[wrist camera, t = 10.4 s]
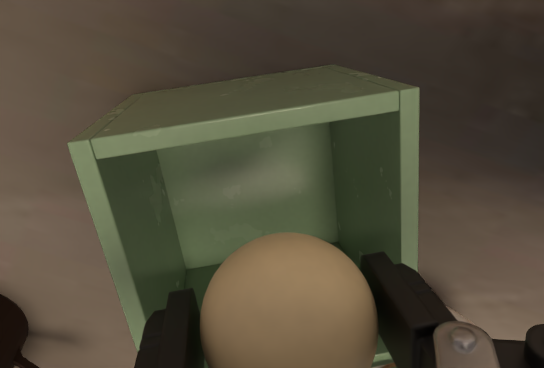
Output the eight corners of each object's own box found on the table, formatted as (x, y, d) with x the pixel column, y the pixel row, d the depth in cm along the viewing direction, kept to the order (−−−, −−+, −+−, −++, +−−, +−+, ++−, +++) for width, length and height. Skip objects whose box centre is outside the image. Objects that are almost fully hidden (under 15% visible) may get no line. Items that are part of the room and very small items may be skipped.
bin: (131, 94, 25) (66, 143, 14) (333, 64, 26) (420, 87, 15) (178, 274, 30) (157, 413, 19) (345, 243, 31) (417, 358, 20)
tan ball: (354, 204, 14) (430, 298, 9) (338, 325, 15) (393, 458, 11) (201, 206, 13) (191, 309, 8) (204, 333, 15) (197, 479, 10)
